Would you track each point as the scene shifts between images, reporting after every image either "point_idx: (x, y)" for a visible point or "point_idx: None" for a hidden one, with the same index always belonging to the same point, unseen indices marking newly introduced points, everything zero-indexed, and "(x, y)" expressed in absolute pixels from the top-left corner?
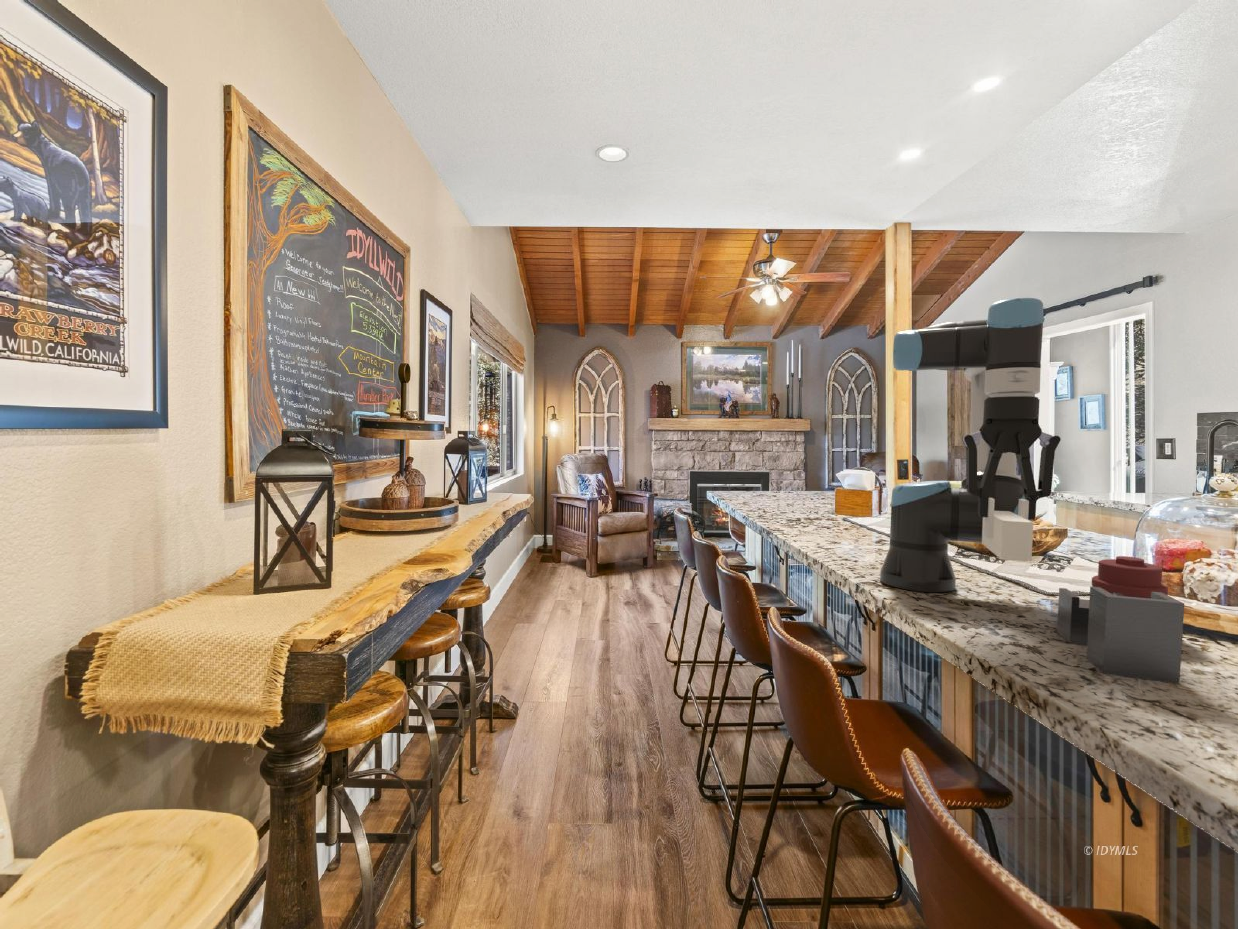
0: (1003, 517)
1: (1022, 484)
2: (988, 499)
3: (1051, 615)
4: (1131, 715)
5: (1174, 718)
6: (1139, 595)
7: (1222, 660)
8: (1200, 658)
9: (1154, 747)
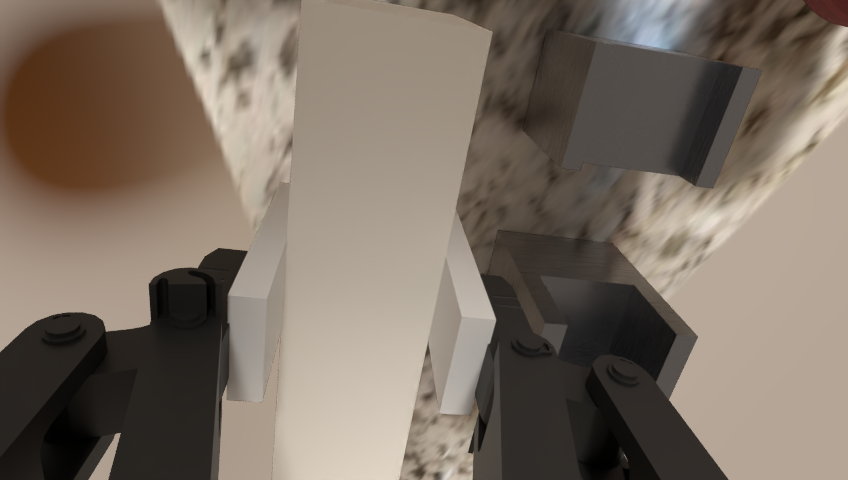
0: (316, 375)
1: (498, 414)
2: (228, 376)
3: None
4: (424, 440)
5: None
6: (841, 25)
7: (792, 161)
8: (755, 160)
9: None
